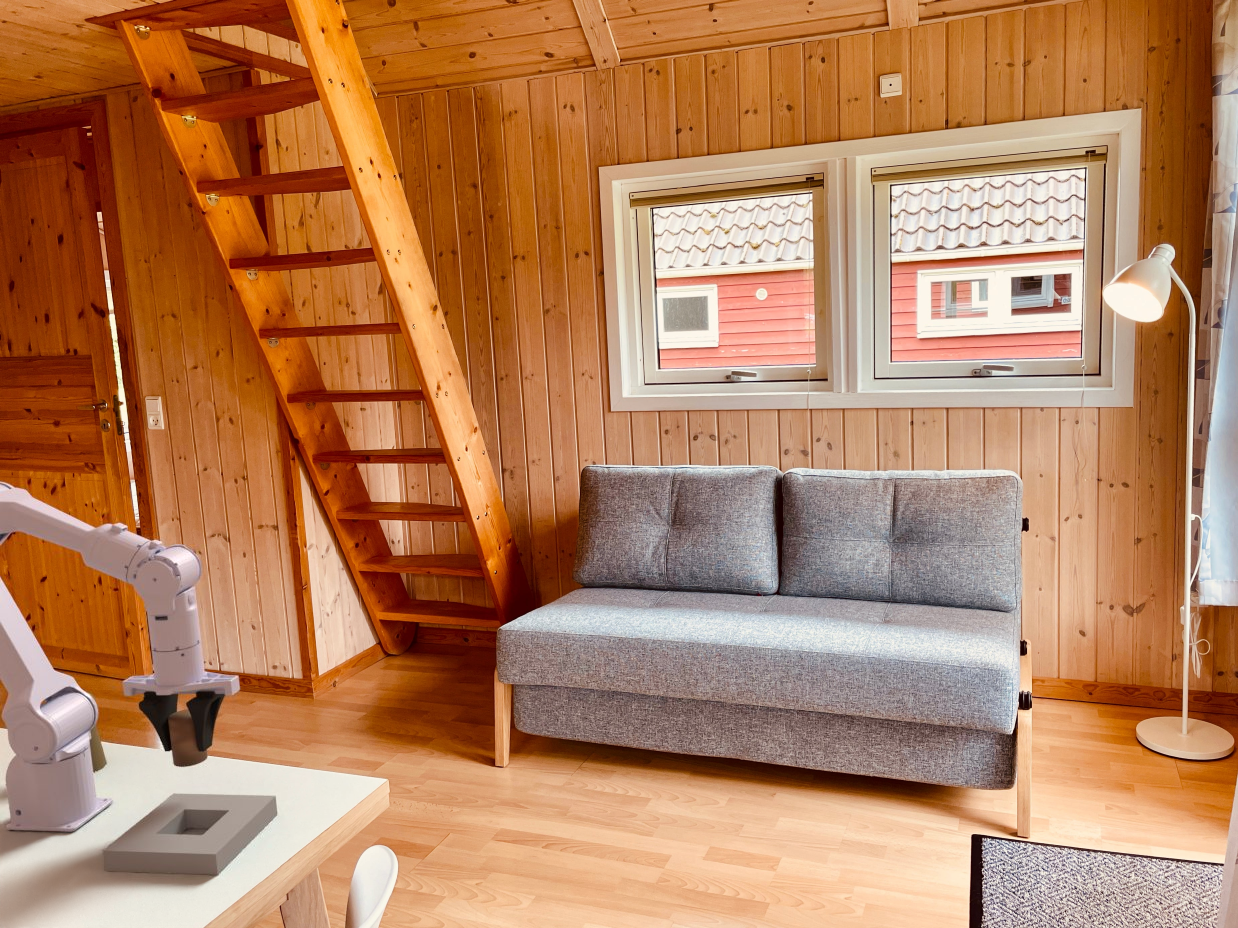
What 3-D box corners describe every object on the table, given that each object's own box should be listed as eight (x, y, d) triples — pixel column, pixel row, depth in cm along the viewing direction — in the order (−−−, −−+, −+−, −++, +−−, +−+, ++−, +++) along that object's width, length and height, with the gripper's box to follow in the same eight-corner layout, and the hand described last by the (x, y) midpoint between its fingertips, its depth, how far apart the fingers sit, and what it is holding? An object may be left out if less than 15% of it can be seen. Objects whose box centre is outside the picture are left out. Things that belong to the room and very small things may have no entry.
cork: (86, 778, 139) (77, 703, 137) (49, 776, 140) (39, 702, 138) (116, 759, 144) (107, 687, 143) (80, 758, 146) (71, 686, 144)
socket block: (104, 870, 113) (102, 850, 113) (175, 811, 127) (173, 793, 127) (217, 874, 111) (215, 854, 111) (277, 814, 125) (275, 795, 125)
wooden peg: (166, 766, 123) (161, 721, 123) (184, 753, 127) (179, 708, 127) (196, 767, 123) (191, 721, 122) (213, 753, 127) (208, 708, 126)
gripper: (102, 655, 120) (115, 761, 122) (213, 654, 118) (225, 762, 120) (137, 637, 127) (149, 738, 129) (243, 636, 125) (254, 738, 127)
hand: (188, 748), depth 125 cm, fingers closed on wooden peg, 4 cm apart
